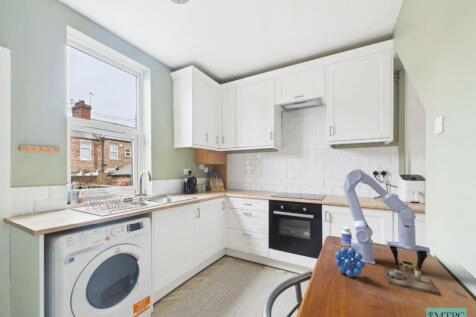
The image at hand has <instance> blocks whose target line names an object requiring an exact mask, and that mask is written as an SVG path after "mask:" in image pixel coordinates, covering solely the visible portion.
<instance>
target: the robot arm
mask: <svg viewBox="0 0 476 317" xmlns="http://www.w3.org/2000/svg"><path fill="white" fill-rule="evenodd" d="M359 183H361V184H363V185H367V186H369V187H370V189H372V190H374V191H375V192H376V193H377V194H378V195H380V197H381V200H382V201H381V202H383V203H384V204H385V205H386V206H387V207H388V208H389V209H390V210H391V211H392V212H394V213H395V214H397V217H398V223H397V226H398V229H397V230H398V241H389V240H388V241H386V247H388V248H389V249H390V251H391V253H392V256H393V258H394V264H395V265H396V266H399V257H398V255H399V251H398V249H403V250H407V251H408V250H409V251H414V252H416V256H417V257H416V258H417V263H416V265H417V268H418V270H420V271H421V270H422V267H423V263H424V261H425V260H426V259H427V258H428V254H431V249H430V248H429V247H427V246H421V245H418V244H416V225H415V223H416V222H415V219H416V217H417V216H416V214H415V212H414V210H413V209H412V207H410V206H409V204H408V203H405V202H404V201H403V200H401V198H400V196H399V195H398V194H395V193H393V192H388V191H387V190H386V189H384V187H383V186H382V185H380V184H379V182H377V181H376V180H375V179H374V178H373V177H372V176H370V175H369V174H367V173H366V172H364V171H363V170H362V169H359V168H354V169H353V168H352V169H350V170H349V171H348V172H347V173H346V174H345V179H344V183H343V186H342V188H343V189H342V190H343V192H344V193H345V197H346V200H347V204H348V206H349V210H350V212H351V215H352V218H353V221H354V229H355V232H354V234H355V238H352V239H351V246H350V247H352V248H354V249H355V250H356V253H360V254H362V260H360V261H363V262H364V263H365V264H366V263H367V264H372V265H376V261H375V258H374V241H373V240H372V238H371V237H372V236H373V230H372V228H371V227H370V225H369V224H368V222H367V220H366V218H365V215H364V211H363V209H362V206H361V203H360V201H359V200H360V199H359V197H358V195H357V192H356V190H355V189H356V187H357V186H358V184H359Z"/></svg>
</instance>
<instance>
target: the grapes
mask: <svg viewBox="0 0 476 317" xmlns="http://www.w3.org/2000/svg"><path fill="white" fill-rule="evenodd" d="M334 256H335V258H336V259H335V260H334V265H335V266H337V267H338V271H339V272H340V273H341V274H346V276H347V277H348V278H352V277H354V276H360V275H361V274H362V270H363V269H364V268H365V267H366V265H365V264H366V263H365V262H363V261H360V260H362V254H360V253H356V250H355V249H354V248H352V247H351V246H349V247H348V248H347V247H345V246H342V247H341V248H340V249H339V251H336V252H335V254H334Z"/></svg>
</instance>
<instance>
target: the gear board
mask: <svg viewBox="0 0 476 317" xmlns="http://www.w3.org/2000/svg"><path fill="white" fill-rule="evenodd" d="M383 268H384V269H383V270H384V274H385V276H386V279H387V282H388V284H389V285H394V286H397V287H401V288H405V289H410V290H414V291H419V292H423V293H427V294H432V295H435V296H439V291H438V290H437V288H436V287H435V286H434V284H433V282H431V280H430V278H429V277H428V276H426V275H422V272H421V270H420V271H419V270H415V274H414V273H407V272H405V271H402V270H401V271H400V270H397V269H391V268H387V267H383Z"/></svg>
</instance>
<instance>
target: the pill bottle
mask: <svg viewBox="0 0 476 317" xmlns="http://www.w3.org/2000/svg"><path fill="white" fill-rule="evenodd" d="M340 235H341V236H340V237H341V240H340V241H341V244H342V246H344V247H345V246H346V247H351V239H353V238H352V236H353V235H352V232H351V228H350V227H348V226H342V230H341V234H340Z"/></svg>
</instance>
